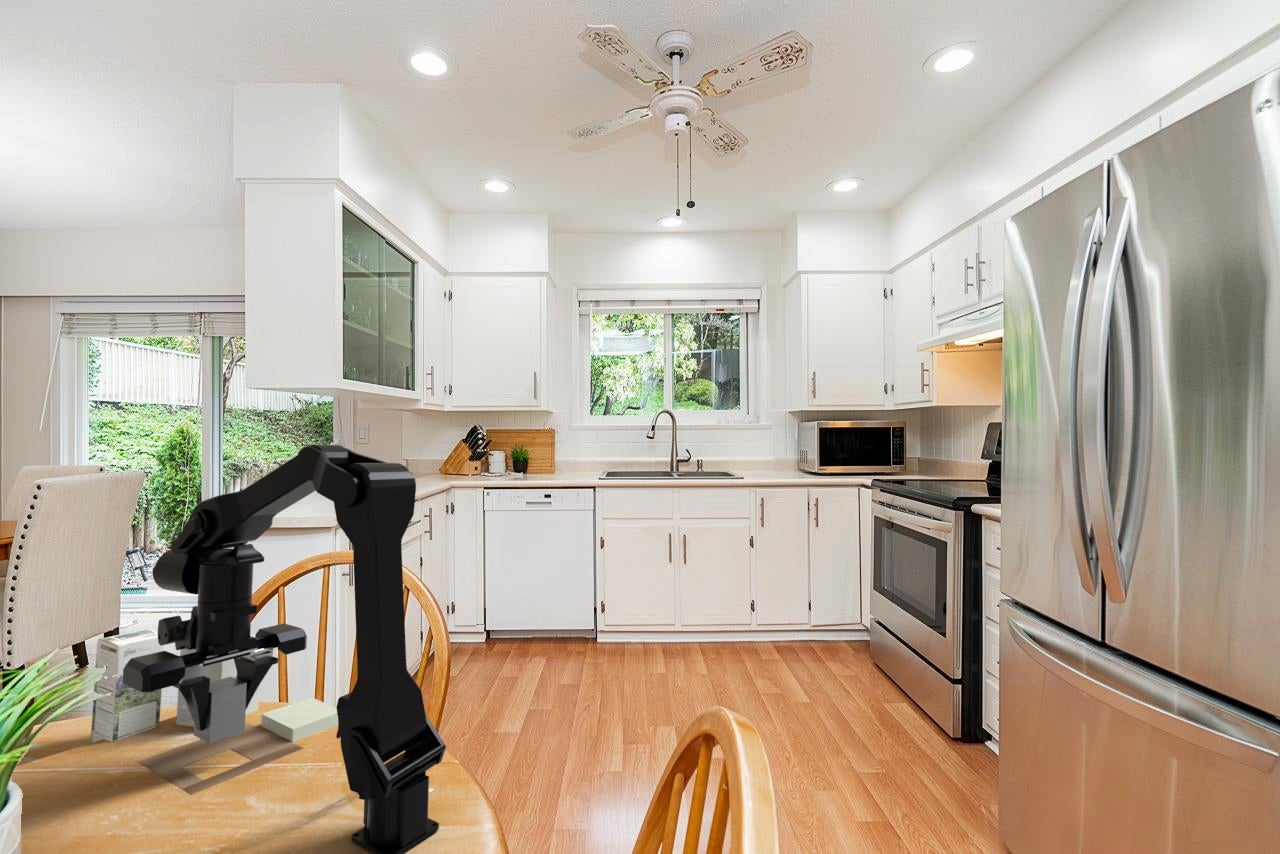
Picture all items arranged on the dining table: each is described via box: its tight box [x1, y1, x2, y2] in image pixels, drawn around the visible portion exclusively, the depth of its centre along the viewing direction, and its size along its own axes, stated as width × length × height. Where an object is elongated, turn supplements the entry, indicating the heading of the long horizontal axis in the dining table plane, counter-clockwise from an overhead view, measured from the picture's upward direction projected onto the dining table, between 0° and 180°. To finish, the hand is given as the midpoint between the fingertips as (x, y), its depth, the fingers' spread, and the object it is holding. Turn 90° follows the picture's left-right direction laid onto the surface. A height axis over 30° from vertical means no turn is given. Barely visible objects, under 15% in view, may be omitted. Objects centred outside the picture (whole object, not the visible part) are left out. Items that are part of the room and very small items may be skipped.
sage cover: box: [260, 697, 338, 743], centre depth 88 cm, size 8×7×4 cm
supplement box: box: [175, 634, 260, 728], centre depth 90 cm, size 7×7×13 cm
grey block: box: [193, 677, 247, 743], centre depth 77 cm, size 4×4×6 cm
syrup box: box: [90, 629, 166, 744], centre depth 86 cm, size 6×6×14 cm
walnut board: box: [137, 722, 304, 795], centre depth 79 cm, size 14×13×2 cm
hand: (219, 723), depth 77 cm, fingers closed on grey block, 4 cm apart
